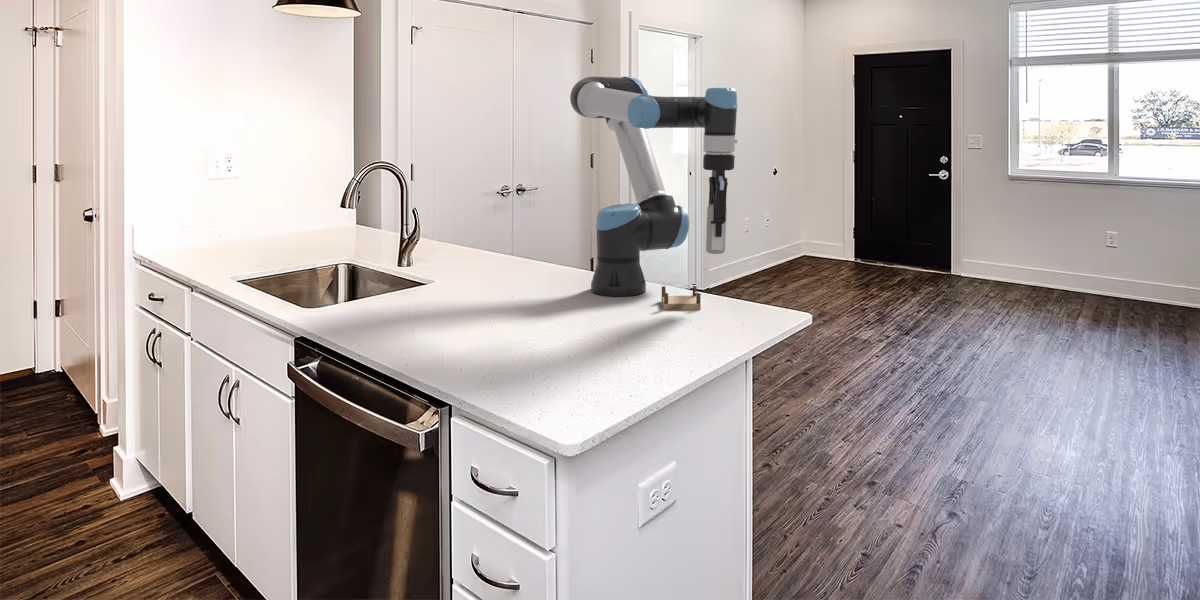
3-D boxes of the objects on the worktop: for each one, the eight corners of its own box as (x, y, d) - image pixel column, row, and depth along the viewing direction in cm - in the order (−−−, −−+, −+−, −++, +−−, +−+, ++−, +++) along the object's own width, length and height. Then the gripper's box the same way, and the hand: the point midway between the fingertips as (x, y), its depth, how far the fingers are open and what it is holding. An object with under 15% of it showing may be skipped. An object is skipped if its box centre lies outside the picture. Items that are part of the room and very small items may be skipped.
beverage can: (710, 254, 189) (712, 206, 186) (702, 251, 194) (704, 203, 191) (728, 253, 190) (730, 205, 188) (720, 250, 195) (722, 203, 192)
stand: (664, 309, 189) (664, 293, 188) (661, 301, 198) (661, 286, 197) (700, 309, 189) (700, 293, 188) (696, 301, 198) (696, 286, 197)
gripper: (741, 155, 177) (736, 254, 183) (728, 151, 195) (724, 241, 200) (708, 155, 177) (705, 254, 183) (699, 151, 195) (696, 241, 200)
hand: (715, 247), depth 192 cm, fingers closed on beverage can, 5 cm apart
